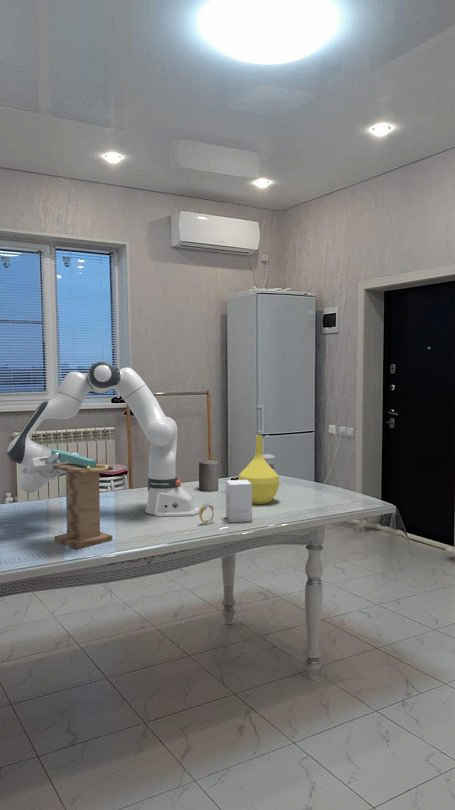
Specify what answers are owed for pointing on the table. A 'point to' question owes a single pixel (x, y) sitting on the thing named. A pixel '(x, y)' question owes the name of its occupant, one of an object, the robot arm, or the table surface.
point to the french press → (268, 456)
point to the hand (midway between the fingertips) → (62, 454)
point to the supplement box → (238, 500)
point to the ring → (204, 509)
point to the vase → (260, 477)
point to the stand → (82, 507)
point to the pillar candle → (208, 476)
